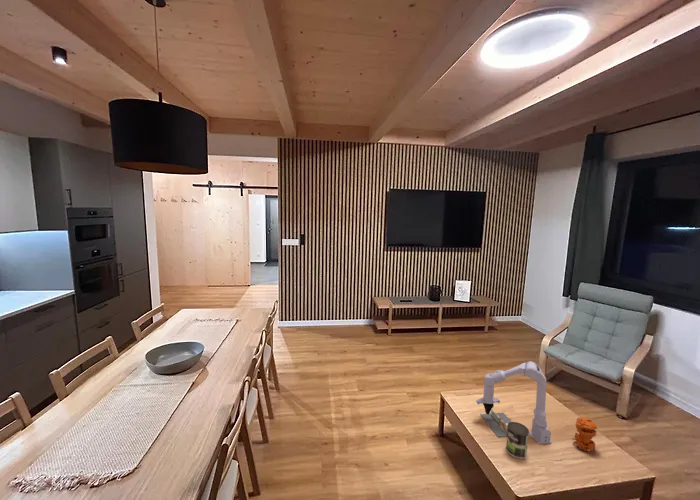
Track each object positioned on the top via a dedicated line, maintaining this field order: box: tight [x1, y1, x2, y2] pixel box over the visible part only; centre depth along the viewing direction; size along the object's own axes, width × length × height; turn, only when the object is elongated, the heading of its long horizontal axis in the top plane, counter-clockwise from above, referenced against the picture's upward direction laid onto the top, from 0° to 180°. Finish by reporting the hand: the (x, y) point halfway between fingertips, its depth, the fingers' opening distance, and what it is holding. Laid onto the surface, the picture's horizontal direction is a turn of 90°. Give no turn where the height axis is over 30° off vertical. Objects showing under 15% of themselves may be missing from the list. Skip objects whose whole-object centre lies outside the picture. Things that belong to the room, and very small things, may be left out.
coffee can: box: [505, 421, 530, 460], centre depth 168 cm, size 10×10×14 cm
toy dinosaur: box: [572, 416, 598, 452], centre depth 170 cm, size 11×11×18 cm
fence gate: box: [490, 408, 499, 423], centre depth 194 cm, size 9×1×4 cm, turn 6°
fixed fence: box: [499, 417, 508, 433], centre depth 184 cm, size 10×2×5 cm, turn 6°
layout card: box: [480, 412, 513, 438], centre depth 190 cm, size 20×16×1 cm
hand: (487, 413), depth 193 cm, fingers closed
